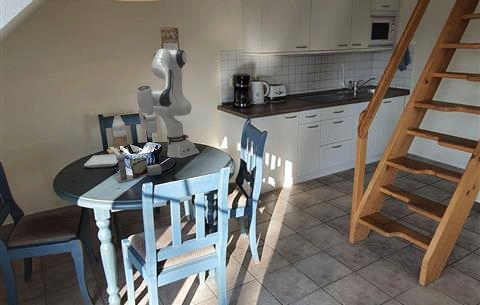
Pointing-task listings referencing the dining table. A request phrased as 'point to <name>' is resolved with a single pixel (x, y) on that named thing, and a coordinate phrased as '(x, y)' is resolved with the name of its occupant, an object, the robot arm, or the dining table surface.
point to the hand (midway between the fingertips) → (149, 137)
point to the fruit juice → (119, 131)
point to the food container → (138, 167)
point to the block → (153, 170)
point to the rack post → (123, 173)
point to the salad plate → (101, 161)
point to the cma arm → (116, 153)
